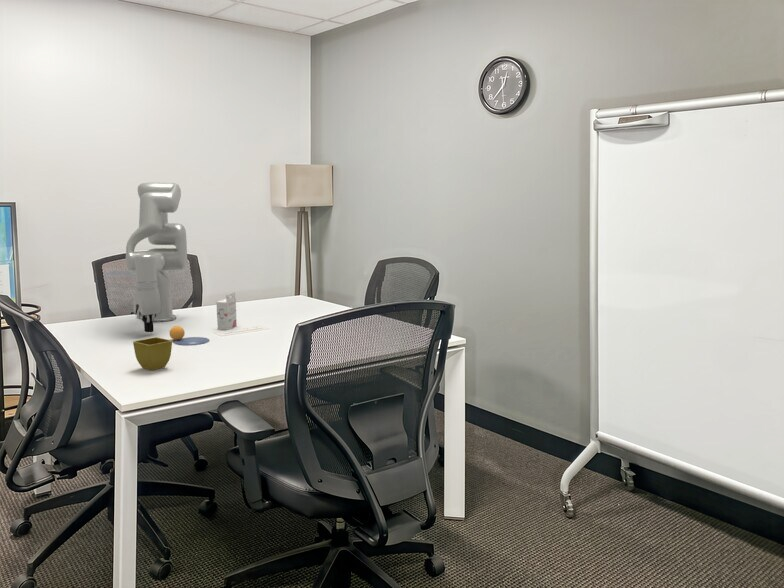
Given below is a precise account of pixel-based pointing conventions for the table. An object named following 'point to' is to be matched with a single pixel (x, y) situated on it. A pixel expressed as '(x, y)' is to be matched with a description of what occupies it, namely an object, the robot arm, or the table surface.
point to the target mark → (192, 341)
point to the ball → (177, 333)
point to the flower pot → (153, 352)
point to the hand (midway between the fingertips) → (149, 331)
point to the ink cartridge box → (226, 312)
